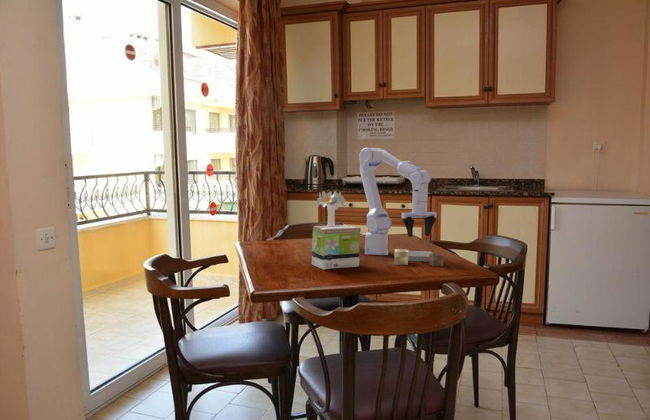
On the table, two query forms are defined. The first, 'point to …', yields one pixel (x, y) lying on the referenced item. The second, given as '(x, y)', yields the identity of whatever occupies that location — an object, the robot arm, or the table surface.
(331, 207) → the flower vase
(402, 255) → the maple cube
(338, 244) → the tea box
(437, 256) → the walnut block
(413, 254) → the plate
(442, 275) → the table surface
